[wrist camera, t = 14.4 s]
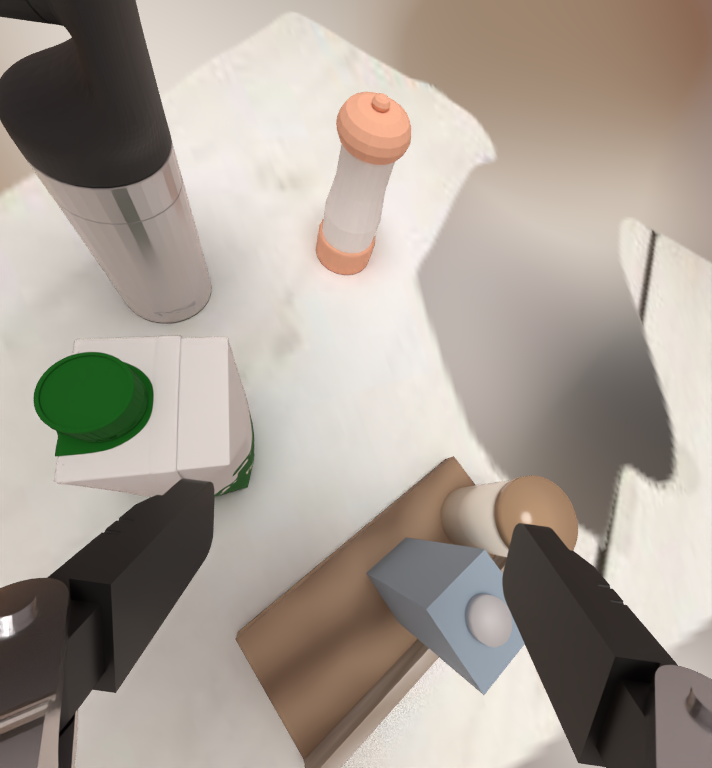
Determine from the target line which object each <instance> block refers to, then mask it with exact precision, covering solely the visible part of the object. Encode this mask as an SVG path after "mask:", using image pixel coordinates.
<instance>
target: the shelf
mask: <svg viewBox="0 0 712 768" xmlns="http://www.w3.org/2000/svg"><path fill="white" fill-rule="evenodd" d="M469 486H475V484H474V482H473V481H472V480H471V479H470V477H469V476H468V475H467V473H466V472H465V471H464V469H463V468H462V467H461V465H460V464H459V463H458V461H457V460H456V459H455V457H451V458H448V459H445V460H444V461H443V462H442V463H440V464H439V465H438V466H437V467H436V468H434V469H433V470H432V471H431V472H430V473H428V474H427V475H426V476H425V477H424V478H422V479H421V480H420V481H419V482H418V483H416V484H415V485H414V486H413V487H412V488H410V489H409V490H408V491H407V492H406V493H404V494H403V495H402V496H401V497H400V498H398V499H397V500H396V501H395V502H394V503H392V504H391V505H390V506H389V507H388V508H386V509H385V510H384V511H383V512H382V513H380V514H379V515H378V516H377V517H376V518H374V519H373V520H372V521H371V522H370V523H368V524H367V525H366V526H365V527H364V528H362V529H361V530H360V531H359V532H358V533H356V534H355V535H354V536H353V537H352V538H350V539H349V540H348V541H347V542H346V543H344V544H343V545H342V546H341V547H340V548H338V549H337V550H336V551H335V552H334V553H332V554H331V555H330V556H329V557H328V558H326V559H325V560H324V561H323V562H322V563H320V564H319V565H318V566H317V567H316V568H314V569H313V570H312V571H311V572H310V573H308V574H307V575H306V576H305V577H304V578H302V579H301V580H300V581H299V582H298V583H296V584H295V585H294V586H293V587H292V588H290V589H289V590H288V591H287V592H286V593H284V594H283V595H282V596H281V597H280V598H278V599H277V600H276V601H275V602H274V603H272V604H271V605H270V606H269V607H268V608H266V609H265V610H264V611H263V612H262V613H260V614H259V615H258V616H257V617H256V618H254V619H253V620H252V621H251V622H250V623H248V624H247V625H246V626H245V627H244V628H242V629H241V630H240V631H239V632H238V634H237V637H236V641H237V643H238V644H239V646H240V648H241V650H242V652H243V653H244V655H245V657H246V659H247V660H248V662H249V664H250V666H251V667H252V669H253V671H254V673H255V674H256V676H257V678H258V680H259V681H260V683H261V685H262V687H263V688H264V690H265V692H266V694H267V696H268V697H269V699H270V701H271V703H272V704H273V706H274V708H275V710H276V711H277V713H278V715H279V717H280V718H281V720H282V722H283V724H284V725H285V727H286V729H287V731H288V732H289V734H290V736H291V738H292V740H293V741H294V743H295V745H296V747H297V748H298V750H299V752H300V754H301V755H302V757H303V759H304V763H305V768H341V767H342V766H343V765H344V763H345V762H346V761H347V760H348V759H349V758H350V757H351V756H352V754H353V753H354V752H355V751H356V750H357V749H358V748H359V747H360V745H361V744H362V743H363V742H364V741H365V740H366V739H367V738H368V736H369V735H370V734H371V733H372V732H373V731H374V730H375V729H376V727H377V726H378V725H379V724H380V723H381V722H382V721H383V720H384V718H385V717H386V716H387V715H388V714H389V713H390V712H391V710H392V709H393V708H394V707H395V706H396V705H397V704H398V703H399V701H400V700H401V699H402V698H403V697H404V696H405V695H406V694H407V692H408V691H409V690H410V689H411V688H412V687H413V686H414V685H415V683H416V682H417V681H418V680H419V679H420V678H421V677H422V676H423V674H424V673H425V672H426V671H427V670H428V669H429V668H430V667H431V665H432V664H433V663H434V662H435V661H436V660H437V659H438V658H439V656H437V655H436V654H435V653H434V652H433V651H431V650H430V649H429V648H428V647H427V646H426V645H424V644H423V643H422V642H421V641H420V640H418V639H417V638H416V637H415V636H414V635H413V634H411V633H410V632H409V631H408V630H407V629H406V628H404V627H403V626H402V625H401V624H400V623H399V622H398V621H397V619H396V618H395V616H394V615H393V613H392V612H391V610H390V609H389V607H388V606H387V604H386V603H385V601H384V600H383V598H382V597H381V595H380V593H379V592H378V590H377V589H376V587H375V586H374V584H373V583H372V581H371V580H370V578H369V577H368V575H367V574H366V573H367V572H368V571H369V570H370V569H371V568H372V567H373V566H374V565H376V564H377V563H378V562H379V561H380V560H381V559H382V558H383V557H385V556H386V555H387V554H388V553H389V552H390V551H391V550H392V549H394V548H395V547H396V546H397V545H398V544H399V543H400V542H401V541H403V540H404V539H405V538H406V537H407V538H413V539H420V540H427V541H433V542H440V543H447V544H453V545H455V544H454V543H453V542H452V541H451V540H450V539H449V538H448V537H447V535H446V533H445V532H444V529H443V527H442V523H441V507H442V504H443V501H444V499H445V498H446V496H447V495H448V494H449V493H450V492H452V491H453V490H455V489H458V488H462V487H469ZM489 556H490V557H491V558H492V560H493V561H494V562H495V564H496V565H497V567H498V568H499V569H500V571H501V572H502V573H503V571H504V567H505V563H506V559H507V557H504V556H498V555H493V554H489Z"/></svg>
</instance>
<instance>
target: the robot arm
mask: <svg viewBox="0 0 712 768" xmlns="http://www.w3.org/2000/svg"><path fill="white" fill-rule="evenodd" d="M0 17H7V18H13V19H20V20H27V21H34V22H42V23H48V24H56V25H62V26H64V27H65V28H66V29H67V30H68V32H69V33H70V35H71V36H72V38H71V39H69V40H67V41H65V42H63V43H61V44H59V45H56V46H54V47H51V48H48V49H45V50H42V51H39V52H36V53H34V54H31V55H29V56H27V57H25V58H23V59H21V60H19V61H18V62H16V63H15V64H13V65H12V66H11V67H10V68H9V69H8V70H7V71H6V72H5V73H4V74H3V75H2V77H1V79H0V120H1V122H2V124H3V125H4V127H5V128H6V130H7V132H8V134H9V135H10V137H11V138H12V140H13V141H14V142H15V144H16V145H17V147H18V148H19V150H20V151H21V153H22V154H23V155H24V157H25V158H26V160H27V161H28V163H29V164H30V166H31V167H32V169H33V170H34V171H35V173H36V174H37V176H38V177H39V179H40V180H41V182H42V183H43V184H44V186H45V187H46V189H47V190H48V192H49V193H50V194H51V196H52V197H53V198H54V200H55V201H56V203H57V204H58V206H59V207H60V208H61V210H62V211H63V213H64V214H65V216H66V217H67V219H68V220H69V221H70V223H71V224H72V226H73V227H74V229H75V230H76V232H77V233H78V234H79V236H80V237H81V239H82V240H83V242H84V243H85V245H86V246H87V247H88V249H89V250H90V252H91V253H92V255H93V256H94V257H95V259H96V260H97V262H98V263H99V265H100V266H101V268H102V269H103V270H104V272H105V273H106V275H107V276H108V278H109V279H110V281H111V282H112V284H113V285H114V287H115V288H116V289H117V291H118V292H119V294H120V295H121V296H122V298H123V299H124V301H125V302H126V304H127V305H128V306H129V308H130V309H131V310H132V311H133V312H135V313H136V314H137V315H139V316H141V317H142V318H144V319H147V320H150V321H154V322H160V323H172V322H177V321H182V320H185V319H187V318H190V317H192V316H193V315H195V314H197V313H198V312H199V311H200V310H201V309H202V308H203V307H204V306H205V305H206V303H207V302H208V300H209V297H210V294H211V282H210V278H209V274H208V270H207V267H206V263H205V259H204V255H203V252H202V248H201V244H200V241H199V237H198V233H197V230H196V226H195V223H194V219H193V215H192V212H191V208H190V205H189V201H188V197H187V194H186V190H185V186H184V183H183V179H182V176H181V172H180V169H179V165H178V162H177V158H176V154H175V151H174V147H173V143H172V140H171V135H170V131H169V128H168V124H167V121H166V117H165V114H164V110H163V106H162V102H161V99H160V95H159V91H158V87H157V83H156V79H155V76H154V72H153V68H152V64H151V60H150V57H149V53H148V49H147V45H146V41H145V38H144V34H143V30H142V26H141V22H140V17H139V13H138V9H137V5H136V0H0ZM213 524H214V485H213V483H212V482H209V481H201V480H194V479H186V478H182V479H180V480H179V481H178V482H177V483H176V484H175V485H173V486H172V487H171V488H170V489H169V490H168V491H167V492H166V493H164V494H163V495H155V496H153V497H151V498H149V499H147V500H145V501H142V502H140V503H138V504H136V505H135V506H133V507H132V508H131V509H130V510H129V511H127V512H126V513H125V514H124V515H123V516H121V517H120V518H119V521H115V522H114V523H113V524H112V525H110V526H109V527H108V528H107V529H106V530H105V532H104V533H101V534H100V535H98V536H97V537H96V538H95V539H94V540H92V541H91V542H90V543H89V544H88V545H86V546H85V547H84V548H83V549H82V550H80V551H79V552H78V553H77V554H75V555H74V556H73V557H72V558H71V559H69V560H68V561H67V562H66V563H65V564H63V565H62V566H61V567H60V568H59V569H57V570H56V571H55V572H54V573H53V574H51V575H50V576H49V577H48V578H36V579H29V580H24V581H20V582H17V583H13V584H10V585H8V586H5V587H2V588H0V768H75V760H76V745H77V730H78V708H79V707H80V706H81V704H82V703H83V701H84V700H85V699H86V697H87V696H88V695H89V693H90V692H91V691H92V689H93V690H100V691H107V692H114V693H116V692H117V690H118V689H119V687H120V686H121V684H122V683H123V681H124V680H125V678H126V677H127V675H128V674H129V672H130V671H131V669H132V668H133V666H134V665H135V663H136V662H137V660H138V659H139V657H140V656H141V654H142V653H143V651H144V650H145V648H146V647H147V645H148V644H149V642H150V641H151V639H152V638H153V636H154V635H155V633H156V632H157V630H158V629H159V627H160V626H161V624H162V623H163V622H164V620H165V619H166V617H167V616H168V614H169V613H170V611H171V610H172V608H173V607H174V605H175V604H176V602H177V601H178V599H179V598H180V596H181V595H182V593H183V592H184V590H185V589H186V587H187V586H188V584H189V583H190V581H191V580H192V578H193V577H194V575H195V574H196V572H197V571H198V569H199V568H200V566H201V565H202V563H203V562H204V560H205V559H206V557H207V555H208V552H209V550H210V547H211V543H212V539H213ZM502 586H503V594H504V598H505V601H506V603H507V606H508V608H509V610H510V612H511V614H512V617H513V619H514V621H515V623H516V626H517V628H518V630H519V632H520V634H521V637H522V639H523V641H524V643H525V646H526V648H527V650H528V652H529V654H530V657H531V659H532V661H533V663H534V666H535V668H536V670H537V672H538V674H539V677H540V679H541V681H542V683H543V686H544V688H545V690H546V692H547V694H548V697H549V699H550V701H551V703H552V706H553V708H554V710H555V712H556V714H557V717H558V719H559V721H560V723H561V726H562V728H563V730H564V732H565V734H566V737H567V739H568V741H569V743H570V746H571V748H572V750H573V752H574V754H575V757H576V759H577V761H578V763H581V764H588V765H595V766H602V767H606V768H712V679H710V678H708V677H706V676H704V675H702V674H700V673H698V672H696V671H693V670H691V669H688V668H685V667H681V666H678V665H677V664H676V662H675V661H674V660H673V659H672V658H671V657H670V655H669V654H668V653H667V652H666V651H665V650H664V648H663V647H662V646H661V645H660V644H659V643H658V641H657V640H656V639H655V638H654V637H653V635H652V634H651V633H650V632H649V631H648V630H647V628H646V627H645V626H644V625H643V624H642V623H641V621H640V620H639V619H638V618H637V617H636V615H635V614H634V613H633V612H632V611H631V610H630V608H629V607H628V606H627V605H624V604H623V600H622V599H621V598H620V597H619V596H618V594H617V593H616V592H615V591H614V590H613V589H610V585H609V584H608V583H607V581H606V580H605V579H604V578H603V577H602V576H601V574H600V573H599V572H598V571H597V570H596V568H595V567H594V566H592V565H591V564H590V563H588V562H587V561H586V560H584V559H583V558H582V557H580V556H579V555H578V554H577V553H575V552H574V551H571V550H569V549H568V548H567V546H566V545H565V544H564V543H563V541H562V540H561V539H560V538H559V536H558V535H557V534H556V533H555V532H554V530H553V529H552V528H550V527H546V526H538V525H530V524H523V523H518V524H517V525H516V526H515V528H514V530H513V534H512V538H511V542H510V546H509V551H508V555H507V559H506V563H505V567H504V571H503V577H502Z"/></svg>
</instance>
